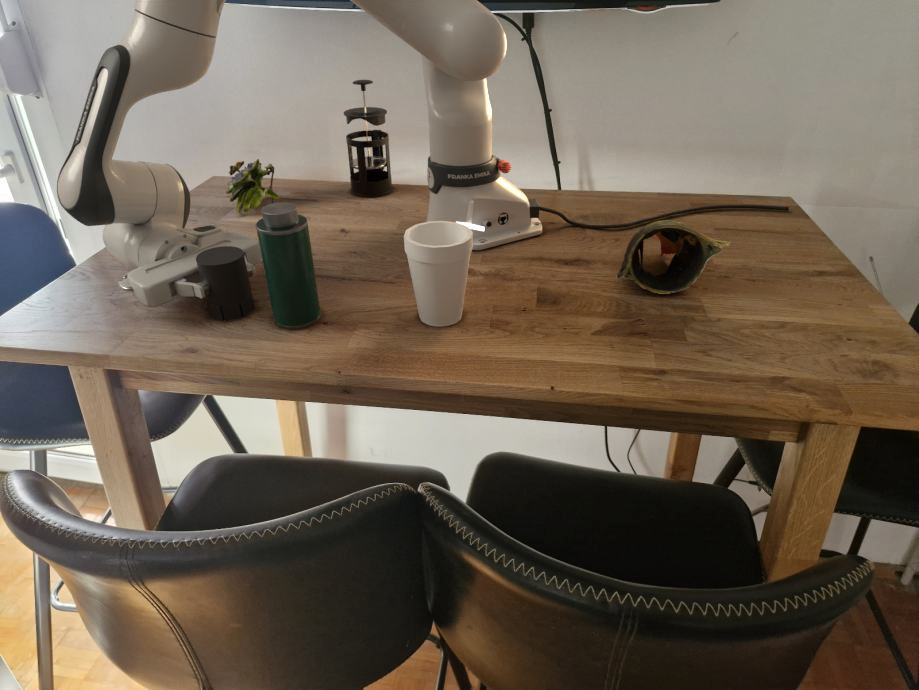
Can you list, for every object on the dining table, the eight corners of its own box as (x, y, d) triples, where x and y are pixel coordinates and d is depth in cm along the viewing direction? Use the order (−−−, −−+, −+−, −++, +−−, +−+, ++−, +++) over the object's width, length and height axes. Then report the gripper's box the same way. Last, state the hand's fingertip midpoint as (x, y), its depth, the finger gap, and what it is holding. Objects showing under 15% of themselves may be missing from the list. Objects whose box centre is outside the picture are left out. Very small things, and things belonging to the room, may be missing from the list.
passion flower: (248, 227, 140) (246, 173, 141) (293, 221, 137) (291, 166, 138) (215, 214, 129) (213, 155, 130) (263, 207, 126) (261, 147, 127)
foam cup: (449, 338, 90) (447, 253, 83) (396, 321, 94) (390, 238, 87) (483, 310, 97) (484, 228, 90) (432, 295, 101) (429, 216, 94)
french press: (383, 200, 138) (375, 86, 126) (342, 197, 140) (330, 84, 128) (401, 183, 147) (394, 75, 135) (362, 180, 149) (353, 74, 137)
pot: (691, 200, 110) (726, 203, 93) (707, 262, 113) (744, 277, 95) (593, 232, 113) (609, 241, 95) (610, 293, 115) (629, 313, 98)
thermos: (316, 303, 99) (301, 196, 90) (324, 324, 94) (308, 213, 85) (271, 311, 97) (250, 203, 88) (276, 333, 92) (255, 220, 83)
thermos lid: (252, 296, 101) (241, 243, 97) (256, 316, 96) (245, 260, 91) (208, 304, 100) (195, 250, 95) (210, 324, 94) (196, 268, 89)
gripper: (105, 263, 93) (159, 288, 86) (225, 220, 107) (279, 239, 100) (118, 302, 97) (170, 329, 89) (232, 255, 110) (286, 276, 103)
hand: (229, 281), depth 95 cm, fingers closed on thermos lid, 6 cm apart
